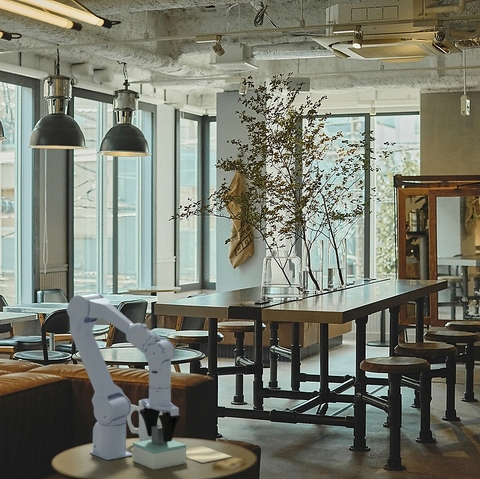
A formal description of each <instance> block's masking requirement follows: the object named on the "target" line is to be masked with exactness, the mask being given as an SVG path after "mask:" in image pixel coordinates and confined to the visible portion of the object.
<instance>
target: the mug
mask: <svg viewBox="0 0 480 479" xmlns="http://www.w3.org/2000/svg"><path fill="white" fill-rule="evenodd" d="M141 409H144V407H142V399H140V400H138V405H135V404H131V411H130V413H129V415H128V416H127V420H126V423H127V425H128V428H129V430H130V432H131V433H132V434H137V435H138V436H139V441H138V442H140V441H146V440H152V436H148V434H147V430H146V426H145V422H144V420H143V417H142V415H141V414H140V410H141ZM135 411H136V412H138V427H134V425H133V423H132V419H131V417H132V414H133V412H135ZM159 415H163V412H161V411H160V413H159ZM157 425H161V421H160V419H159V416H158V421H157Z"/></svg>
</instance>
